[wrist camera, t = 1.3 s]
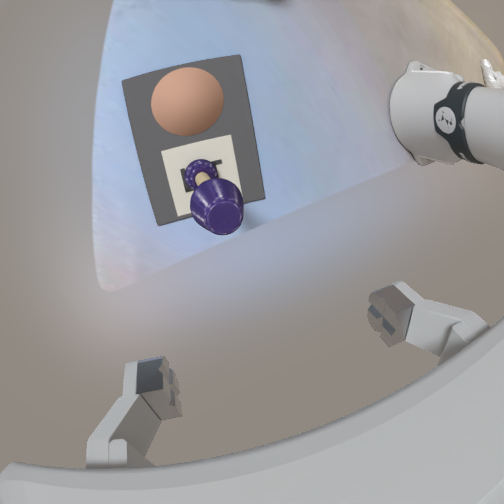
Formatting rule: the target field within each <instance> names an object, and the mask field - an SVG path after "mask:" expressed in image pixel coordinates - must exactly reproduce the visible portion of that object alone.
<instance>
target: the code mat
mask: <svg viewBox="0 0 504 504" xmlns="http://www.w3.org/2000/svg"><path fill="white" fill-rule="evenodd" d="M122 86H123V91H124V96H125V101H126V106H127V111H128V116H129V120H130V125H131V129H132V133H133V138H134V142H135V146H136V150H137V154H138V158H139V162H140V166H141V169H142V173H143V177H144V181H145V184H146V188H147V191H148V195H149V198H150V202H151V205H152V209H153V212H154V215H155V219H156V222H157V225H162V224H165V223H169V222H172V221H176V220H180V219H183V218H187V217H191V216H192V214H191V210H190V200H191V196H192V194H193V192H194V190H192V189H191V188H190V187H189V186H188V185H187V184H186V182H185V178H184V173H185V170H186V168H187V166H188V165H189V164H190V163H191V162H192V161H194V160H197V159H205V160H208V161H210V162H211V163H213V164H214V166H215V167H216V170H217V178H223V179H227V180H229V181H231V182H232V183H234V184H235V185H236V186H237V187H238V188H239V190H240V192H241V194H242V197H243V203H246V202H251V201H255V200H259V199H264V198H265V196H264V190H263V184H262V178H261V171H260V165H259V159H258V153H257V147H256V141H255V136H254V130H253V124H252V118H251V112H250V107H249V101H248V96H247V90H246V84H245V79H244V74H243V68H242V63H241V57H240V55H233V56H226V57H219V58H213V59H207V60H201V61H196V62H191V63H186V64H182V65H177V66H173V67H169V68H164V69H161V70H157V71H153V72H149V73H146V74H142V75H139V76H135V77H132V78H129V79H126V80H123V81H122Z"/></svg>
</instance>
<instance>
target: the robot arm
mask: <svg viewBox="0 0 504 504" xmlns="http://www.w3.org/2000/svg"><path fill="white" fill-rule="evenodd" d="M390 117H391V122H392V126H393V129H394V131H395V134H396V136H397V138H398V139H399V141H400V142H401V143H402V145H403V146H404V147H405V148H407V149H408V150H409V151H410V152H411V153H412V154H413V156H414V158H415V160H416V162H417V163H418V164H419V165H422V166H425V165H428V164H430V163H432V162H434V161H439V162H443V163H447V164H454V163H455V162H458V161H460V160H461V159H464V160H466V161H468V162H471V163H477V164H484V163H486V164H488V165H492V166H494V167H497V168H499V169H502V170H504V89H499V88H489V87H485V86H484V85H482V84H479V83H475V82H468V81H467V82H464V78H463V76H461V75H457V74H454V73H452V72H445V71H437V70H435V69H433V68H431V67H429V66H426V65H424V64H422V63H420V62H417V61H411V62H410V64H409V66H408V68H407V71H406V73H405V74H404V75H403V76H402V77H401V78H400V79H399V80H398V81H397V83H396V84H395V86H394V88H393V91H392V94H391V99H390ZM369 302H370V303H371V306H370V307H369V309H368V320H369V323H370V325H371V327H372V328H373V329H374V330H375V331H378V332H381V333H380V334H381V335H380V337H381V338H382V340H383V341H384V342H385V343H386V344H387V346H388V347H391V346H393V345H395V344H397V343H400V342H402V341H404V340H405V341H407V342H409V343H411V344H413V345H416V346H418V347H420V348H422V349H424V350H427V351H429V352H431V353H433V354H435V355H438V356H440V360H439V362H438V364H437V367H436V368H434V369H433V370H432V371H430V372H428V373H426V374H425V375H423V376H421V377H420V378H418V379H416V380H415V381H413V382H411V383H410V384H408V385H406V386H404V387H403V388H401V389H399V390H397V391H395V392H393V393H392V394H390V395H388V396H386V397H384V398H382V399H380V400H378V401H376V402H374V403H372V404H370V405H368V406H366V407H364V408H361V409H359V410H357V411H355V412H353V413H351V414H348V415H346V416H344V417H341V418H339V419H337V420H334V421H332V422H329V423H327V424H324V425H322V426H319V427H317V428H314V429H311V430H309V431H306V432H303V433H301V434H297V435H294V436H291V437H288V438H285V439H282V440H279V441H276V442H273V443H269V444H266V445H262V446H259V447H255V448H251V449H248V450H244V451H240V452H235V453H231V454H227V455H222V456H218V457H212V458H207V459H202V460H196V461H191V462H184V463H177V464H169V465H160V466H155V465H154V464H152V463H151V462H150V461H149V460H148V459H146V458H145V455H146V453H147V451H148V449H149V447H150V445H151V443H152V441H153V439H154V436H155V434H156V432H157V430H158V428H159V426H160V424H161V420H166V419H171V418H176V417H181V416H182V410H181V402H180V400H179V399H178V397H177V396H178V395H179V393H180V391H179V385H178V381H177V378H176V375H175V373H174V371H173V370H172V369H170V368H169V362H168V361H167V359H166V357H165V356H160V357H155V358H149V359H144V360H139V361H134V362H128V363H127V364H126V366H125V374H124V385H123V397H119V398H118V400H117V401H116V402H115V404H114V405H113V406H112V408H111V409H110V410H109V412H108V413H107V415H106V416H105V417H104V419H103V420H102V421H101V423H100V424H99V426H98V427H97V428H96V429H95V431H94V432H93V434H92V435H91V436H90V438H89V439H88V443H87V457H86V469H82V468H63V467H51V466H42V465H34V464H27V463H21V462H12V463H10V464H9V465H8V466H7V467H6V468H5V469H4V470H3V471H2V472H1V474H0V504H504V317H503V318H502V319H500V320H499V321H498V322H497V323H496V324H495V325H493V326H492V327H490V326H489V325H488V324H487V323H486V322H485V321H483V320H482V319H481V318H480V317H479V316H478V315H477V314H476V313H474V312H473V311H469V310H465V309H461V308H458V307H454V306H450V305H447V304H443V303H439V302H436V301H431V300H424V299H423V298H422V297H420V296H419V295H418V294H417V293H416V292H414V290H412V289H411V288H410V287H409V286H408V285H407V284H405V283H404V282H403V281H398V282H396V283H394V284H391V285H389V286H387V287H384V288H382V289H379V290H377V291H374V292H372V293H371V294H370V296H369Z"/></svg>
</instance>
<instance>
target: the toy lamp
mask: <svg viewBox="0 0 504 504" xmlns="http://www.w3.org/2000/svg"><path fill="white" fill-rule="evenodd" d="M184 178H185V182H186V184H187V185H188V186H189V187H190V188H191V189H192V190H194V192H193V194H192V196H191V200H190V210H191V214H192V216H193V218H194V219H195V221H196V222H197V223H198V224H199V225H200V226H202V227H203V228H205V229H206V230H208V231H210V232H212V233H214V234H217V235H228V234H231V233H233V232H234V231H236V230H237V229H238V227H239V226H240V225H241V222H242V220H243V212H244V210H243V197H242V194H241V192H240V190H239V188H238V187H237V186H236V185H235V184H234V183H232V182H231V181H229V180H227V179H223V178H217V170H216V167H215V166H214V164H213V163H211V162H210V161H208V160H205V159H197V160H194V161H192V162H191V163H190V164H189V165H188V166H187V168H186V170H185V173H184Z"/></svg>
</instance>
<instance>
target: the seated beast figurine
mask: <svg viewBox="0 0 504 504" xmlns="http://www.w3.org/2000/svg"><path fill="white" fill-rule="evenodd" d="M481 67H482V72H483V77H484V81H485V87H489V88H499V89H504V75H502V74H501V72H499V71H496V72H494V71H493V69H492V67H491V64H490V63H489V61H488V60H481Z"/></svg>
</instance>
